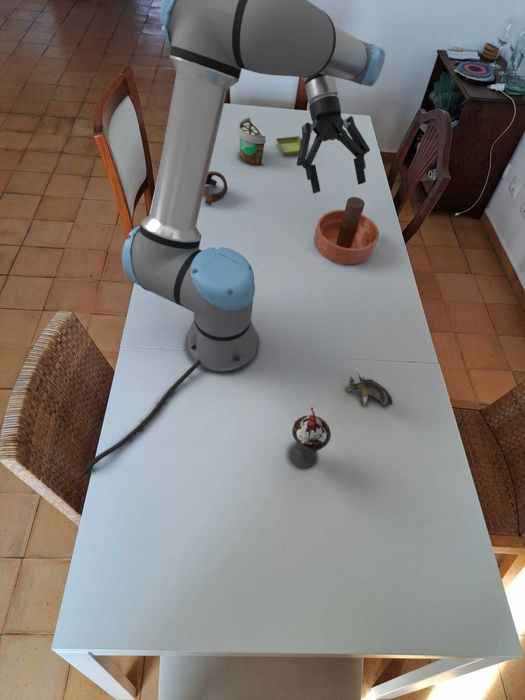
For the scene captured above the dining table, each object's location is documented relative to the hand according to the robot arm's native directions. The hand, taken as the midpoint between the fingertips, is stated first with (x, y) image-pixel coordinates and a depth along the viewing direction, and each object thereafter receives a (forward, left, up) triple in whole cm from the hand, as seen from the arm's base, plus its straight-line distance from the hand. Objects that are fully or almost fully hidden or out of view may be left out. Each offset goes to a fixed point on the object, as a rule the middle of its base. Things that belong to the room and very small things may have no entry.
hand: (339, 187), depth 118 cm
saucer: (+35, +20, -13) cm, 42 cm away
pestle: (-6, -5, -12) cm, 14 cm away
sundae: (-69, -8, -13) cm, 71 cm away
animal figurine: (-52, -18, -13) cm, 56 cm away
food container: (+24, +32, -13) cm, 42 cm away
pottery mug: (+1, +37, -13) cm, 39 cm away
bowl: (-6, -5, -13) cm, 15 cm away
